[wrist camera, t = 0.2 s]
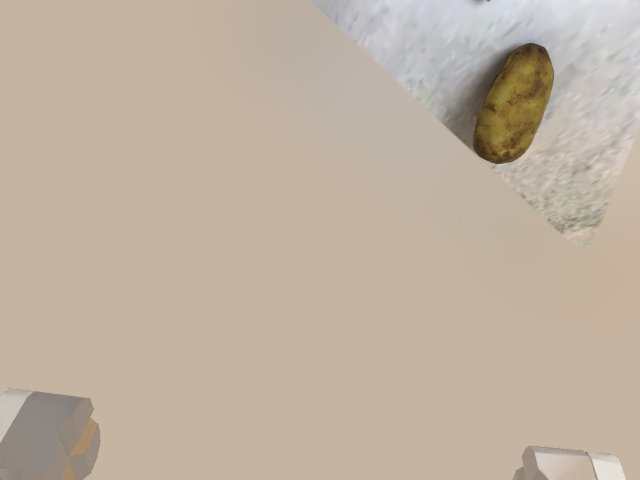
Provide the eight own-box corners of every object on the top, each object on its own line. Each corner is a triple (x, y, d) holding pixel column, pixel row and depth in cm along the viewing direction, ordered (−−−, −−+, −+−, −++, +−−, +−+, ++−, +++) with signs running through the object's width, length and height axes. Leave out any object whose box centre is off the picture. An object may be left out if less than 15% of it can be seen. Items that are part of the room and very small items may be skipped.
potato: (584, 59, 65) (596, 112, 60) (503, 132, 75) (508, 182, 70) (523, 25, 62) (530, 78, 58) (447, 105, 72) (448, 156, 68)
